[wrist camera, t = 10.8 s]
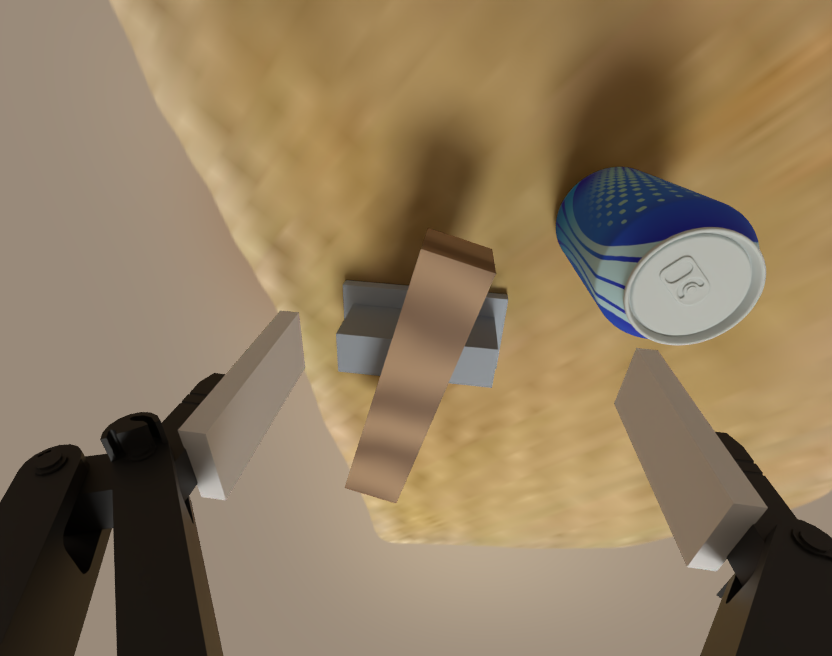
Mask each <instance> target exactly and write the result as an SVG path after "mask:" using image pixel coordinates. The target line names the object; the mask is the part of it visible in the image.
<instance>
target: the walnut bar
mask: <svg viewBox="0 0 832 656" xmlns="http://www.w3.org/2000/svg"><path fill="white" fill-rule="evenodd" d="M495 275H496V271H495V264H494V258H493V252H492V249H490V248H487V247H484V246H481V245H478V244H475V243H472V242H469V241H466V240H463V239H460V238H457V237H454V236H451V235H448V234H445V233H442V232H439V231H436V230H433V229H430V228H428V229H427V232H426V235H425V238H424V241H423V244H422V247H421V250H420V254H419V257H418V260H417V263H416V266H415V269H414V272H413V275H412V279H411V282H410V285H409V288H408V291H407V294H406V297H405V300H404V304H403V307H402V310H401V313H400V316H399V319H398V322H397V325H396V329H395V332H394V335H393V338H392V341H391V344H390V347H389V350H388V354H387V357H386V360H385V363H384V366H383V369H382V372H381V376H380V379H379V382H378V385H377V388H376V391H375V394H374V397H373V401H372V404H371V407H370V410H369V413H368V416H367V419H366V422H365V426H364V429H363V432H362V435H361V438H360V441H359V444H358V447H357V451H356V454H355V457H354V460H353V463H352V466H351V469H350V472H349V476H348V479H347V482H346V485H345V488H347V489H350V490H354V491H357V492H360V493H363V494H367V495H370V496H373V497H377V498H380V499H383V500H387V501H390V502H393V503H397V501H398V498H399V496H400V494H401V491H402V489H403V487H404V484H405V482H406V480H407V478H408V475H409V473H410V471H411V468H412V466H413V464H414V461H415V459H416V457H417V455H418V452H419V450H420V448H421V445H422V443H423V441H424V438H425V436H426V434H427V432H428V429H429V427H430V425H431V422H432V420H433V418H434V415H435V413H436V411H437V408H438V406H439V404H440V402H441V399H442V397H443V395H444V392H445V390H446V388H447V385H448V383H449V381H450V379H451V376H452V374H453V372H454V369H455V367H456V365H457V362H458V360H459V358H460V355H461V353H462V351H463V349H464V346H465V344H466V342H467V339H468V337H469V335H470V332H471V330H472V328H473V326H474V323H475V321H476V319H477V316H478V314H479V312H480V309H481V307H482V305H483V303H484V300H485V298H486V296H487V293H488V291H489V289H490V286H491V284H492V282H493V279H494V277H495Z"/></svg>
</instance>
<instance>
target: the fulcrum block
mask: <svg viewBox="0 0 832 656" xmlns="http://www.w3.org/2000/svg"><path fill="white" fill-rule="evenodd" d="M408 288H409V286H407V285H396V284H385V283H373V282H362V281H351V280H346V281H345V282H344V284H343V300H344V321H343V323H342V325H341V326H340V328H339V330H338V331H337V333H336V339H337V356H338V371H340V372H349V373H359V374H368V375H377V376H381V372H382V369H383V366H384V363H385V360H386V357H387V354H388V350H389V347H390V344H391V341H392V338H393V335H394V332H395V329H396V325H397V322H398V319H399V316H400V313H401V310H402V307H403V304H404V300H405V297H406V294H407V291H408ZM507 303H508V296H507V294H498V293H487V296H486V298H485V300H484V303H483V305H482V307H481V309H480V312H479V314H478V316H477V319H476V321H475V323H474V326H473V328H472V330H471V332H470V335H469V337H468V339H467V342H466V344H465V346H464V349H463V351H462V353H461V355H460V358H459V360H458V362H457V365H456V367H455V369H454V372H453V374H452V376H451V379H450V381H449V383H452V384H462V385H471V386H481V387H490V388H492V384H493V378H494V373H495V369H496V367H497V361H498V355H499V349H500V344H501V338H502V332H503V326H504V321H505V315H506V309H507Z"/></svg>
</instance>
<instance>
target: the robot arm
mask: <svg viewBox="0 0 832 656" xmlns="http://www.w3.org/2000/svg"><path fill="white" fill-rule="evenodd" d="M304 369H305V361H304V353H303V344H302V335H301V327H300V318H299V312H289V311H280V312H279V313H278V314H277V315H276V316H275V318H274V319H273V320H272V321H271V322H270V323H269V325H268V326H267V327H266V328H265V329H264V330H263V331H262V333H261V334H260V335H259V336H258V337H257V339H256V340H255V341H254V342H253V343H252V344H251V345H250V347H249V348H248V349H247V350H246V351H245V352H244V354H243V355H242V356H241V357H240V358H239V360H238V361H237V362H236V363H235V364H234V365H233V367H232V368H231V369H230V370H229V371H228V372H227V373H226V374H218V373H214V374H212V375H210V376H209V377H207V378H205V379H204V380H202V381H200V382H199V383H198V384H197V385H196V386H195V388H194V389H193V390H192V391H191V392H190V395H189V394H188V395H187V396H186V397H185V398H184V400H183V401H182V403H180V404H179V405H178V406H177V407H176V408H175V409H174V410H173V411H172V412H171V414H170V415H169V416H168V417H167V418H166V419H165V420H164V421H163V422H162V423H161V421H160V419H159V418H158V416H157V415H155V414H152V413H148V412H140V413H135V414H130V415H127V416H125V417H122V418H120V419H118V420H116V421H115V422H114V423H112V424H110V425H109V426H108V427H107V428H106V429H105V431H104V432H103V433H102V436H101V439H100V440H101V442H102V444H103V446H104V448H105V450H106V452H107V454H102V455H94V456H86V457H85V456H84V454H83V453H82V451H81V450H80V448H79V447H78V446H75V445H71V444H69V445H58V446H55V447H52V448H48V449H46V450H44V451H42V452H40V453H38V454H36V455H34V456H33V457H32V458H30V459H29V460H28V461H26V462H25V463H24V464H23V466H22V467H21V468H20V469H19V471H18V472H17V474H16V476H15V478H14V479H13V481H12V483H11V485H10V486H9V488H8V490H7V492H6V493H5V495H4V497H3V498H2V500H1V502H0V656H74V654H75V651H76V647H77V644H78V641H79V637H80V634H81V631H82V627H83V624H84V620H85V617H86V614H87V610H88V607H89V603H90V600H91V597H92V593H93V590H94V587H95V583H96V580H97V577H98V573H99V570H100V566H101V563H102V560H103V556H104V553H105V550H106V546H107V543H108V540H109V536H110V532H111V529H112V528H113V529H114V562H115V598H116V629H117V630H116V632H117V656H223V652H222V647H221V642H220V637H219V632H218V628H217V623H216V618H215V613H214V608H213V604H212V599H211V594H210V589H209V585H208V580H207V575H206V570H205V566H204V561H203V556H202V551H201V546H200V541H199V537H198V532H197V527H196V522H195V517H194V513H193V508H192V503H191V500H190V497H189V495H190V494H191V492H192V491H193V489H194V488H195V486H196V485H198V488H199V491H200V494H201V497H206V498H213V499H220V500H227V498H228V496H229V494H230V493H231V491H232V489H233V488H234V486H235V484H236V483H237V481H238V479H239V478H240V476H241V474H242V473H243V471H244V469H245V468H246V466H247V464H248V463H249V461H250V459H251V458H252V456H253V454H254V453H255V451H256V449H257V448H258V446H259V444H260V442H261V441H262V439H263V437H264V435H265V434H266V432H267V431H268V429H269V427H270V426H271V424H272V422H273V421H274V419H275V417H276V416H277V414H278V412H279V411H280V409H281V407H282V406H283V404H284V402H285V401H286V399H287V397H288V396H289V394H290V392H291V390H292V389H293V387H294V386H295V384H296V382H297V381H298V379H299V377H300V375H301V374H302V372H303V370H304ZM614 404H615V406H616V409H617V411H618V413H619V415H620V418H621V420H622V422H623V424H624V427H625V429H626V431H627V433H628V436H629V438H630V440H631V442H632V445H633V447H634V449H635V451H636V453H637V456H638V458H639V460H640V462H641V465H642V467H643V469H644V471H645V474H646V476H647V478H648V480H649V483H650V485H651V487H652V489H653V492H654V494H655V496H656V498H657V501H658V503H659V505H660V507H661V510H662V512H663V514H664V516H665V519H666V521H667V523H668V525H669V527H670V530H671V532H672V534H673V536H674V539H675V541H676V543H677V545H678V548H679V550H680V552H681V554H682V557H683V559H684V561H685V563H686V566H687V567H691V568H698V569H705V570H712V571H717V570H718V569H719V568H720V567H721V565H722V564H723V563H724V562H725V560H726V559H728V561H729V563H730V565H731V566H732V568H733V570H734V572H735V574H734V575H733V576H732V577H731V579H730V580H729V581H728V582H727V583H726V584H725V585H724V587H723V588H722V589H721V590H720V591H719V592H718V594H717V596H719V597H720V598H722V600H721V603H720V605H719V608H718V611H717V613H716V616H715V618H714V621H713V624H712V626H711V629H710V632H709V634H708V637H707V639H706V642H705V645H704V647H703V650H702V653H701V655H700V656H832V538H831V537H830V536H829V535H828V534H826V533H825V532H823V531H822V530H820V529H819V528H817V527H816V526H813V525H811V524H809V523H807V522H805V521H802V520H798V519H797V518H796V517H795V515H794V514H793V513H792V511H791V510H790V509H789V507H788V506H787V505H786V503H785V502H784V501H783V499H782V498H781V497H780V495H779V494H778V493H777V491H776V490H775V489H774V487H773V486H772V485H771V483H770V482H769V481H768V479H767V478H766V477H765V476H763V475H762V471H761V470H760V469H759V467H758V466H757V465H756V464H754V461H753V459H752V458H751V457H750V455H749V454H748V453H747V451H746V450H745V449H744V447H743V446H742V445H740V444H739V443H738V442H737V441H736V440H734V439H733V438H732V437H731V436H729V435H728V434H727V433H721V432H715V431H714V430H713V429H712V427H711V426H710V424H709V423H708V421H707V420H706V419H705V417H704V416H703V414H702V413H701V411H700V410H699V409H698V407H697V406H696V404H695V403H694V401H693V400H692V399H691V397H690V396H689V394H688V393H687V392H686V390H685V389H684V387H683V386H682V384H681V383H680V382H679V380H678V379H677V377H676V376H675V374H674V373H673V372H672V370H671V369H670V367H669V366H668V364H667V363H666V362H665V360H664V359H663V357H662V356H661V354H660V353H659V352H658V350H650V349H641V348H636V351H635V353H634V356H633V358H632V360H631V363H630V365H629V368H628V370H627V373H626V375H625V378H624V380H623V383H622V385H621V388H620V390H619V393H618V395H617V398H616V400H615V403H614Z"/></svg>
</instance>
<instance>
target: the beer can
mask: <svg viewBox="0 0 832 656" xmlns="http://www.w3.org/2000/svg"><path fill="white" fill-rule="evenodd" d="M556 235H557V239H558V242H559V245H560V247H561V249H562V250H563V252H564V253H565V255H566V257H567V258H568V260H569V261H570V263H571V264H572V266H573V267H574V269H575V271H576V272H577V274H578V275H579V277H580V278H581V280H582V282H583V283H584V285H585V286H586V288H587V289H588V291H589V293H590V294H591V296H592V297H593V299H594V300H595V302H596V304H597V305H598V307H599V308H600V310H601V311H602V313H603V314H604V316H605V317H606V318H607V319H608V320H609V321H610V322H611V323H612V324H613V325H615V326H616V327H617V328H619V329H620V330H622V331H624V332H626V333H629V334H631V335H634V336H637V337H641V338H646V339H650V340H652V341H655V342H658V343H662V344H667V345H689V344H695V343H699V342H703V341H706V340H709V339H712V338H714V337H716V336H718V335H720V334H722V333H724V332H726V331H728V330H729V329H731V328H732V327H734V326H735V325H736V324H737V323H739V322H740V321H741V320H742V319H743V318H744V317H745V316H746V315H747V314H748V313H749V312H750V311H751V310H752V308H753V307H754V306H755V304H756V303H757V301H758V299H759V297H760V295H761V293H762V291H763V288H764V284H765V279H766V266H765V261H764V258H763V255H762V253H761V251H760V250H759V243H758V239H757V236H756V233H755V231H754V229H753V227H752V226H751V224H750V223H749V221H748V220H747V219H746V218H745V217H744V216H743V215H742V214H741V213H739V212H738V211H737V210H735V209H734V208H732V207H730V206H729V205H726V204H724V203H722V202H719V201H717V200H714V199H712V198H709V197H706V196H704V195H701V194H699V193H696V192H694V191H691V190H688V189H686V188H683V187H681V186H678V185H675V184H673V183H670V182H668V181H665V180H663V179H660V178H657V177H655V176H652V175H650V174H647V173H644V172H642V171H639V170H636V169H633V168H629V167H611V168H606V169H603V170H599V171H597V172H594V173H592V174H590V175H589V176H587V177H585V178H584V179H582V180H581V181H580V182H579V183H577V184H576V185H575V186H574V187H573V188H572V189H571V190H570V192H569V193H568V194H567V196H566V197H565V198H564V200H563V202H562V204H561V206H560V208H559V211H558V215H557V220H556Z"/></svg>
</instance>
